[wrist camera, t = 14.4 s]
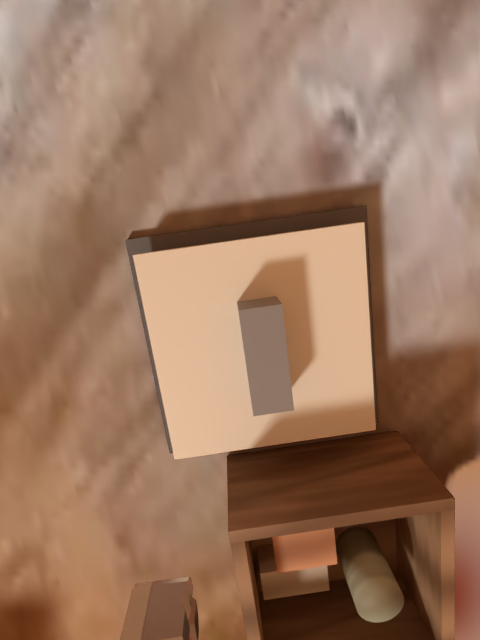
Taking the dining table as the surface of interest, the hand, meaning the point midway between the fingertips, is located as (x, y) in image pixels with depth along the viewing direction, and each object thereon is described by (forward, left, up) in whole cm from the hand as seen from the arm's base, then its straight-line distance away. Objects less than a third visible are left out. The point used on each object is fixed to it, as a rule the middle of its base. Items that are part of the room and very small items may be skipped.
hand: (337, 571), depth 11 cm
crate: (+19, +4, -23) cm, 30 cm away
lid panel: (0, 0, -22) cm, 22 cm away
